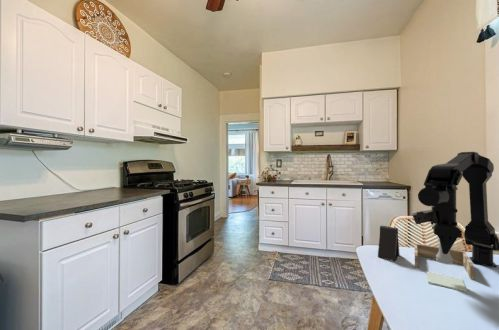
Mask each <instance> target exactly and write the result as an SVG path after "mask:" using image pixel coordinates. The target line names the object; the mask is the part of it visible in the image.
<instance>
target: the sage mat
mask: <svg viewBox="0 0 499 330" xmlns="http://www.w3.org/2000/svg"><path fill="white" fill-rule="evenodd" d="M426 276H427V283H428V284H431V285H435V286H440V287H443V288H444V287H445V288H448V289H452V290H456V291H461V292H465V293H467V292H468V291H467V287H466V285H465V284H464V281H463V279H462V278H460V277H454V276H450V275H445V274H441V273H436V272H432V271H426Z"/></svg>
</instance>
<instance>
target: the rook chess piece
mask: <svg viewBox="0 0 499 330" xmlns="http://www.w3.org/2000/svg"><path fill="white" fill-rule="evenodd" d="M437 241H438V242H439V243H438V248H439V252H438V253H437V255H436V257H437V258H436V259H435V261H437V263H440V264H442V265H453V264H454V262H452V260H453V258H452V257H451V255H450V251H449V252H448V254H443V252H442V248H441V244H440V239H439V238H437Z"/></svg>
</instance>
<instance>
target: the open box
mask: <svg viewBox="0 0 499 330" xmlns="http://www.w3.org/2000/svg"><path fill="white" fill-rule="evenodd" d="M449 251H450V255H451V257H452V258H453V260H452V262H453V263H457V264H462V266H463V268H464V269H465V271H466V273H467V276H468V277H469V279H470V280H474V279H475V269H474V268H475V265H474V263H472V261H471V260H470V258H469V255H468V254H467V253H466V251H462V250H458V249H457V250H456V249H452V248H451V249H450V250H449ZM438 252H439V246H431V245H425V244H420V243H419V244H418V243H414V268H417V269H418V266H419V265H418V264H419V263H418V261H419V260H418V259H419V258H418V255H420V256H419V257H423V256H425V258H429V257H430V259H434V258H437V257H436V255H437V253H438Z"/></svg>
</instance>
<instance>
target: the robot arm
mask: <svg viewBox="0 0 499 330" xmlns="http://www.w3.org/2000/svg"><path fill="white" fill-rule="evenodd" d="M494 170H495V167H494V163H493V162H492V161H491V159H490V158H488V157H485V156H483V155H480V154H479V153H478V152H477V151H462V152H458V153H457V155H456V156H454V157H453V158H451V159H450V160H449V161H447V162H446V163H440V164H435V165H432V166H431V167H430V169H429V170H428V173H427V175H426V177H425V179H424V182H423V186H424V188H422V189H420V190H419V191H418V193H417V198H418V201H419V202H420V203H421V204H422V205H424V206H425V207H426V206H427V207H431V209H427V210H420V211H416V212H413V213H412V214H411V215H412V218H413V220H414V223H415V224H416V225H421V224H423V223H430V224H431V225H433V226H431V229H432V230H433V231H432V232H433V234H434V235H435V236H437V237H438V239H440V242H439V243H440V244H441V248H442V252H443V254H448V252H449V250H450V249H451V250H452V248H453V245H454V244H455V242H456V241H457V240H458V239H462V238H463V235H464V240H465V244H466V245H469V246H471V251H472V252H471V254H472V255H471V256H468V258H469V259H470V261H471V262H472V264H476V265H482V266H487V267H494V268H497V267H498V266H497V264H496V263H495V262H494V252H496V251H498V252H499V237H498V235H497V233H496V229H495V227H494V226H493V225H492V224H491V223H490V222H489V215H488V214H489V212H488V211H489V210H488V195H487V183H488V181H489V180H490V179H491V178H492V176H493V173H494ZM462 177H463V179H464V180H465V181H466V182H467V183H468V192H469V194H468V195H469V209H470V210H469V211H470V221H469V222H468V224H467V225H465V227H464V229H465V230H464V232H462V230H461V228H460V227H458V222H457V213H458V209H457V190H458V186H459V184H460V182H461V180H462ZM463 233H464V234H463Z"/></svg>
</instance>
